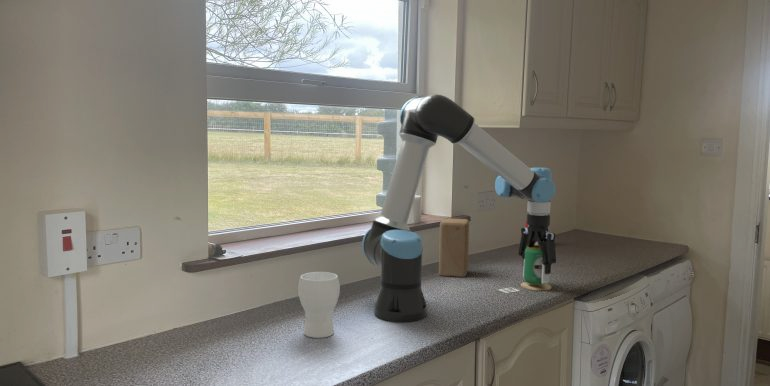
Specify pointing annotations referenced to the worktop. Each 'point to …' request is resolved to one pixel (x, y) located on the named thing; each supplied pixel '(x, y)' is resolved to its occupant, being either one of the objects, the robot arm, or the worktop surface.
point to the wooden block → (453, 247)
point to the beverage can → (533, 265)
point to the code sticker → (508, 290)
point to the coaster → (535, 286)
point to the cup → (318, 302)
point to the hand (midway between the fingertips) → (535, 280)
